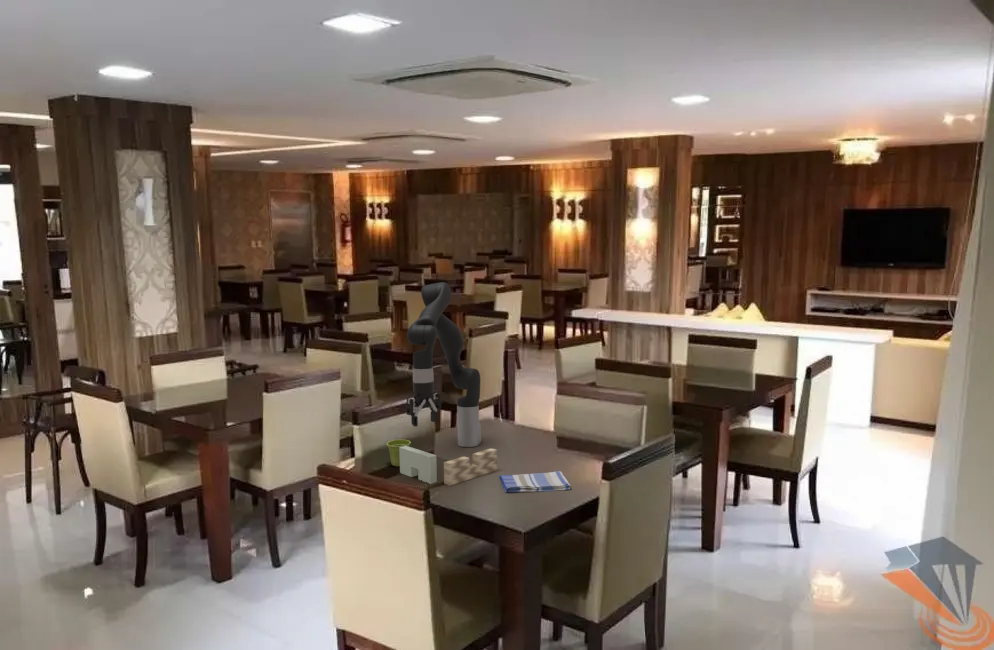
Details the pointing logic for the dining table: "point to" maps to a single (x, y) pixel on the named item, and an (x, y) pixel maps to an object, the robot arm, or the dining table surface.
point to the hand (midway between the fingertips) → (424, 423)
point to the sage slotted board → (418, 464)
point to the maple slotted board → (470, 466)
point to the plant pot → (396, 450)
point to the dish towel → (534, 482)
